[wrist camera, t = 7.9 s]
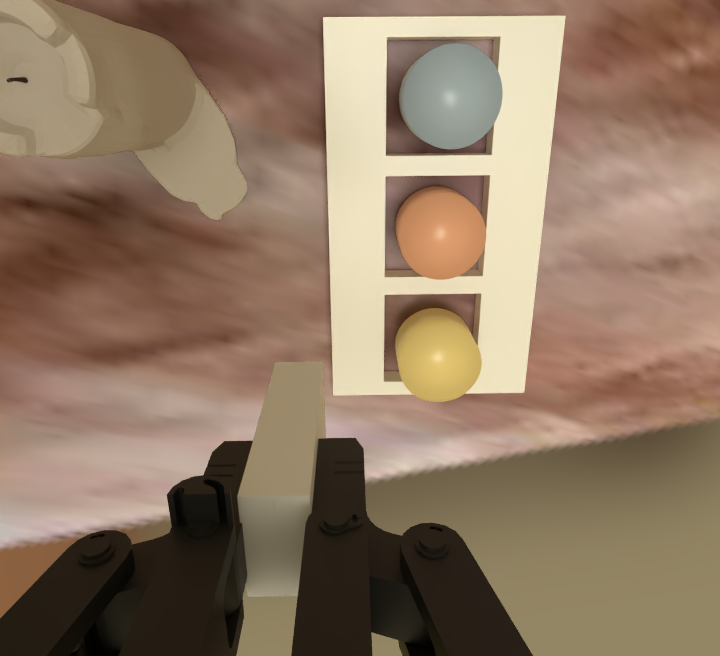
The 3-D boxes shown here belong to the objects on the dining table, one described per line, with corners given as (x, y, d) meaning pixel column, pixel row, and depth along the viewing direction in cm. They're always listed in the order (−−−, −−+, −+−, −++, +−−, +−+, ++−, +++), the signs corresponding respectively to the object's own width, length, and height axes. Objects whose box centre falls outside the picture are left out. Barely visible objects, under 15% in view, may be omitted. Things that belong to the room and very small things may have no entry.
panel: (333, 384, 50) (333, 395, 48) (324, 21, 40) (322, 17, 38) (517, 381, 50) (524, 392, 48) (555, 19, 40) (565, 15, 38)
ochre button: (394, 378, 46) (398, 402, 43) (395, 308, 44) (399, 327, 40) (468, 377, 46) (478, 401, 43) (473, 307, 44) (484, 326, 41)
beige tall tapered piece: (197, 234, 45) (90, 329, 26) (73, 71, 40) (-161, 46, 22) (272, 183, 44) (215, 245, 25) (152, 9, 39) (-26, -74, 21)
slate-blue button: (398, 145, 40) (403, 149, 36) (399, 49, 38) (405, 43, 34) (484, 144, 40) (498, 148, 36) (491, 48, 38) (506, 42, 34)
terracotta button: (394, 265, 44) (398, 280, 41) (395, 186, 42) (400, 194, 39) (471, 264, 45) (483, 279, 41) (477, 185, 42) (489, 193, 39)
